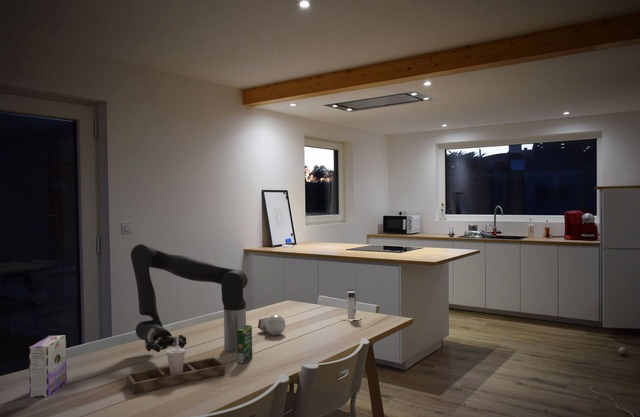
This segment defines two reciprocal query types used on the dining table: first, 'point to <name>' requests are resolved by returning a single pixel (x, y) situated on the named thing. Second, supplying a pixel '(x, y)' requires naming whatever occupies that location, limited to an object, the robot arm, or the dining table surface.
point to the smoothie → (176, 359)
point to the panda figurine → (351, 303)
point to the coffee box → (244, 344)
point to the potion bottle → (272, 325)
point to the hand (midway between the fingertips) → (171, 347)
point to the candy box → (47, 365)
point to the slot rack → (163, 379)
